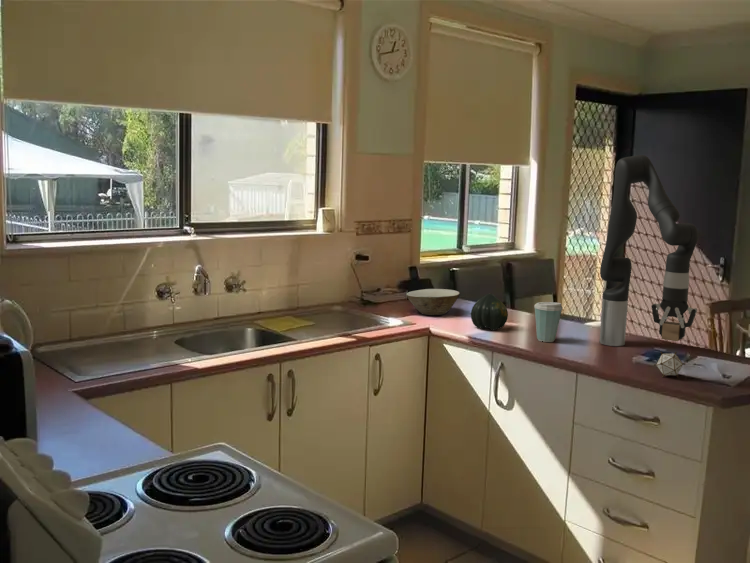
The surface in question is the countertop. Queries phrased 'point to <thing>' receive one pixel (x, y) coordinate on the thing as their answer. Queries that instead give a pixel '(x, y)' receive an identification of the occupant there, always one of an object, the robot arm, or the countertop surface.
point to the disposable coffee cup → (547, 320)
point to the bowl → (433, 300)
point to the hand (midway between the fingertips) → (671, 337)
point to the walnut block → (671, 331)
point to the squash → (489, 313)
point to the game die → (669, 364)
